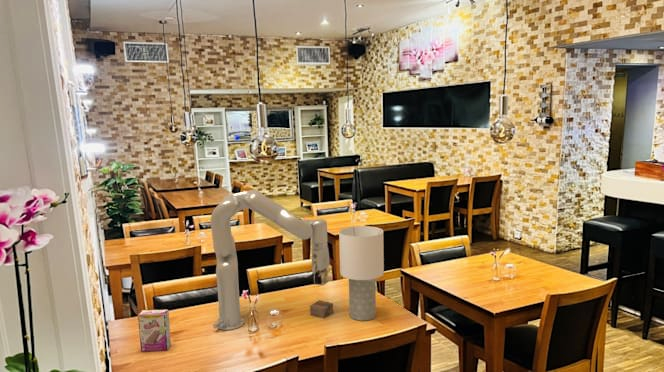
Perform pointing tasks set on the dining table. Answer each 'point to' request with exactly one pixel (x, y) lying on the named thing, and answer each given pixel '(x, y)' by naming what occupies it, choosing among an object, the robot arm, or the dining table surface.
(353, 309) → the lamp
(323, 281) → the oak block
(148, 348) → the candy bar box
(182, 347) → the dining table surface
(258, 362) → the dining table surface
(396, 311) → the dining table surface
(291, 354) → the dining table surface
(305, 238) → the robot arm
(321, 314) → the walnut base
